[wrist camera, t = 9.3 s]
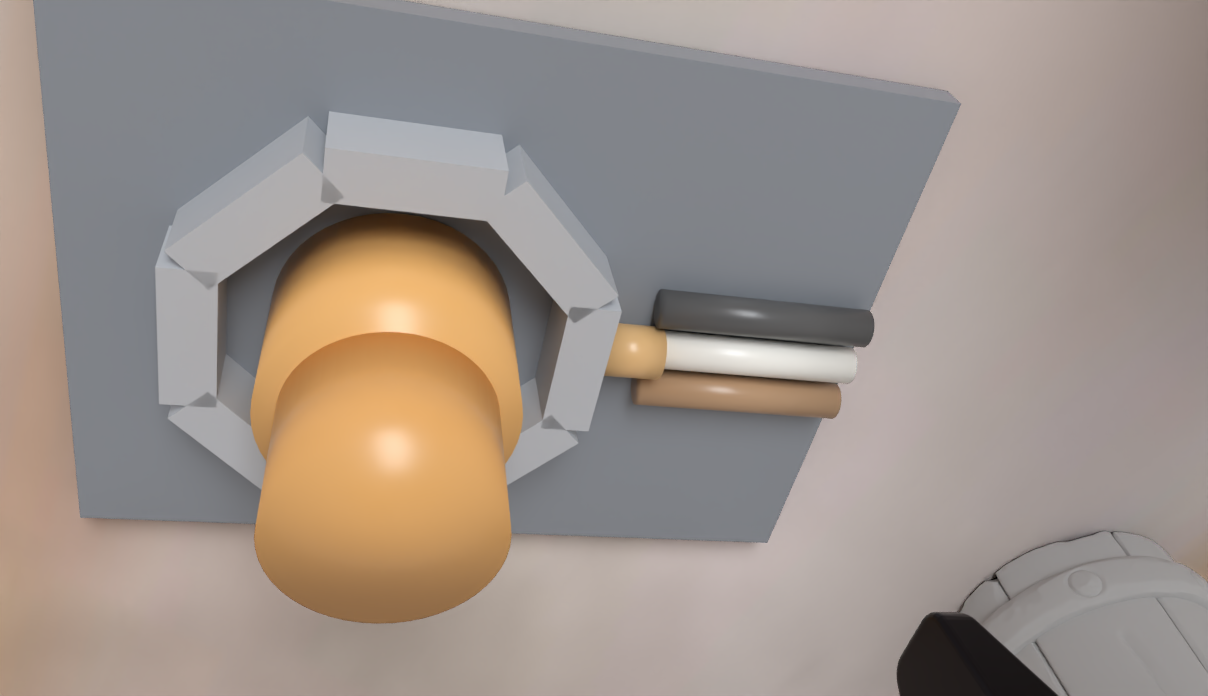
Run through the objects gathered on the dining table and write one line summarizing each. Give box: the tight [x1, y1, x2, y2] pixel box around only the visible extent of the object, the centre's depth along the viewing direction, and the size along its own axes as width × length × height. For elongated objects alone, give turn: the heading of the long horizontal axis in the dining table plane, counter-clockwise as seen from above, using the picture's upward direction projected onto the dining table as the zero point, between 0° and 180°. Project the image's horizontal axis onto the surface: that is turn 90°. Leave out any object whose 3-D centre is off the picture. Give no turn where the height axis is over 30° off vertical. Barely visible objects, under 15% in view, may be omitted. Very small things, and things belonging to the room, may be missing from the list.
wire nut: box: [250, 213, 523, 623], centre depth 18 cm, size 5×5×6 cm
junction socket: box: [33, 0, 961, 543], centre depth 21 cm, size 16×12×2 cm
